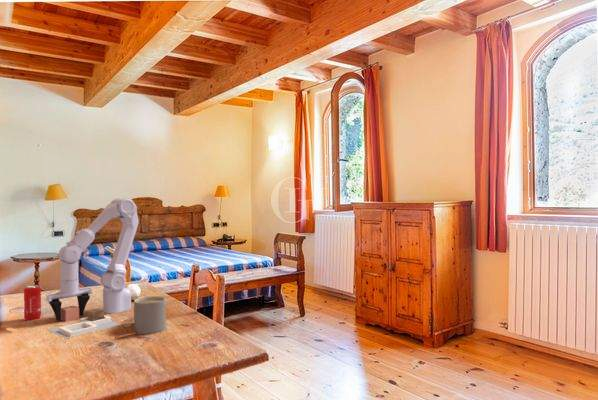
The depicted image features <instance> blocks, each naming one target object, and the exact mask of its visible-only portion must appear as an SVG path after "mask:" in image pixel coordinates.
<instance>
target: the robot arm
mask: <svg viewBox="0 0 598 400" xmlns="http://www.w3.org/2000/svg"><path fill="white" fill-rule="evenodd" d="M137 210H138V206H137V205H136V204H135V202H134V200H133V199H131V198H120V197H119V198H114V199H113V200H111V202H110V203H108V204H106V206H105V208H103V210H101V212H100V213H99V215H97V217H96V218H95V219H94V220H93V221H92V223H91V224H90V225H89V226H88V227H87V228H82V229H80V230H77V231H76V232H75V235H74V237H72V238H71V240H69V241H67V242H66V243H65V244H66V245H65V246H63V247H61V248H60V249H59V250H58V253H57V258H58V260H60V262H59V263H60V266H59V274H60V275H59V283H60V285H59V286H60V292H55V293H52V294H47V295H46V296H45V297H46V298H45V299H46V302H48V304H49V306H50V307H51V309H52V311H53V313H54V317H55V320H56V321H58V322H59V321H62V320H61V308H62V303H63V302H62V301H61V300H62V299H69V298H73V297H77V302H78V303H77V304H78V306H77V307H79V317H80V316H81V317H83V316H84V313H85V310H86V306H87V304H88V302H89V300H90V297H91V296H90V295H92V288H89V287H87V288H81V289H79V288H80V287H79V285H80V283H79V260H80V259H81V257H82V253H84V251H86V249H87V248H88V247H89V246H90V245H91V244H92V243H93V242H94V240H95V239H96V238H95V237H96V236H95V235H96V234H97V232H99V231H100V230H101V229H102V228H103V227H104V226H105V225H106V224H107V223H109V221H110V220H111V219H115V218H119V220H120V221H121V223H122V228H121V231H120V233H119V237H118V240H117V243H116V246H115V248H114V251H113V255H112V258H111V262H110V263H109V264H108V265H107V267H106V269H105V271H104V273H103V274H102V275H100V276H101V277H100V284H101V285H102V286H103V289H102V309H103V310H104V314H118V313H121V312H123V311H124V312H125V311H128V310H132V301H131V293H130V291H129V289H128V288H125V287H126V286H125V285H126V282H127V279H126V275H127V269H126V264H127V261H128V258H129V254H130V252H131V248H132V245H133V242H134V238H135V237H136V233H137V229H138V225H139V222H140V220H139V216H138V212H137Z"/></svg>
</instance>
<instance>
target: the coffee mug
mask: <svg viewBox="0 0 598 400" xmlns="http://www.w3.org/2000/svg"><path fill="white" fill-rule="evenodd" d="M166 303H167V302H166V297H165V296H161V295H149V296H142V297H138V298H137V299H136V300H134V301H133V321H134V322H133V328H134V333H136V334H139V335H151V334H152V333H153V334H158V333H160V332H163V331H165V330H166V329H167V326H166V325H167V323H166V321H167V318H166V315H167V314H166V310H167V309H166V305H167V304H166ZM157 332H158V333H157Z"/></svg>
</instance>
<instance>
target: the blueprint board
mask: <svg viewBox="0 0 598 400" xmlns="http://www.w3.org/2000/svg"><path fill="white" fill-rule="evenodd" d="M116 326H122V324H121V323H120V322H119V323H118V322H117V321H115V320H112V317H111V316H108V315H105V314H104V319H101V320H96V321H92V322H91V321H89V320H87V317H82V318H79V322H75V323H70V324H66V325H63V326H62V325H61V326H57V327H53V328H49V329H47V331H48V332H51V333H53V334H54V335H57V336H59V337H61V338H64V339H70V338H74V337H78V336H83V335H86V334H90V333H94V332H97V331H100V330H102V331H103V330H105V329H110V328H114V327H116Z"/></svg>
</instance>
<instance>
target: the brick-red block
mask: <svg viewBox="0 0 598 400" xmlns="http://www.w3.org/2000/svg"><path fill="white" fill-rule="evenodd" d="M75 320H80V315H79V307H78V306H76V305H70V306H65V307H61V320H60V321H63V322H70V321H75Z"/></svg>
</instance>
